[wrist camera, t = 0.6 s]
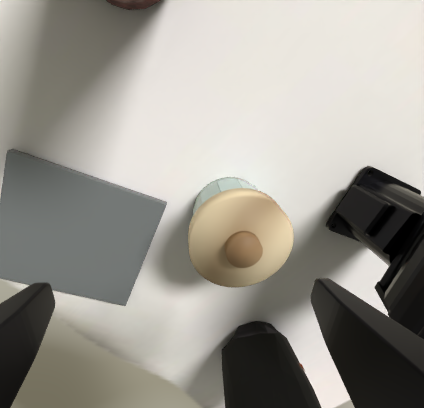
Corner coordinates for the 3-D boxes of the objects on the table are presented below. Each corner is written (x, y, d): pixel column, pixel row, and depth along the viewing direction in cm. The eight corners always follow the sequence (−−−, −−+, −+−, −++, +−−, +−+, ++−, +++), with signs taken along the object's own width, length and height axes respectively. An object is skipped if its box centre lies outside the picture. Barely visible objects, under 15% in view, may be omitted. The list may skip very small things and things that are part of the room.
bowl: (274, 191, 22) (292, 212, 18) (243, 247, 24) (254, 275, 21) (210, 165, 20) (216, 182, 17) (182, 227, 23) (183, 254, 19)
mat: (166, 201, 21) (166, 204, 21) (126, 301, 25) (125, 305, 25) (12, 148, 18) (7, 150, 18) (-6, 271, 22) (-11, 276, 22)
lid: (303, 208, 18) (319, 224, 16) (256, 282, 21) (265, 304, 19) (212, 172, 17) (217, 185, 14) (173, 258, 19) (172, 280, 17)
